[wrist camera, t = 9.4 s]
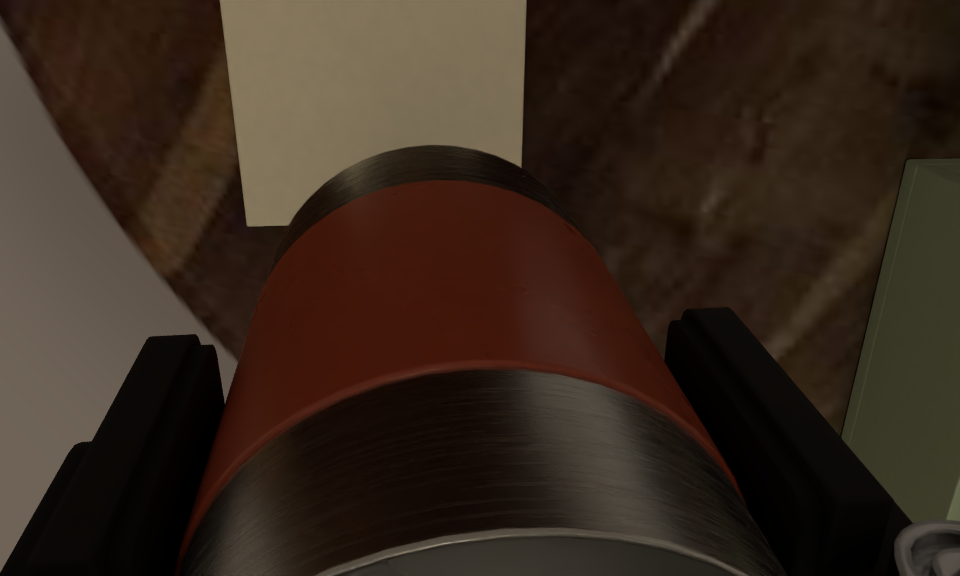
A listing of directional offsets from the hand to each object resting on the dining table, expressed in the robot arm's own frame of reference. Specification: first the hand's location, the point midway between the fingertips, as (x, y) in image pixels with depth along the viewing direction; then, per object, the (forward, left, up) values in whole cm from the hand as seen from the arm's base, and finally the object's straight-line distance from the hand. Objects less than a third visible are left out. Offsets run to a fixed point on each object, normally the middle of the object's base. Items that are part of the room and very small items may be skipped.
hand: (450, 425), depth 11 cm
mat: (-1, -1, -20) cm, 20 cm away
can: (0, 0, -4) cm, 4 cm away
